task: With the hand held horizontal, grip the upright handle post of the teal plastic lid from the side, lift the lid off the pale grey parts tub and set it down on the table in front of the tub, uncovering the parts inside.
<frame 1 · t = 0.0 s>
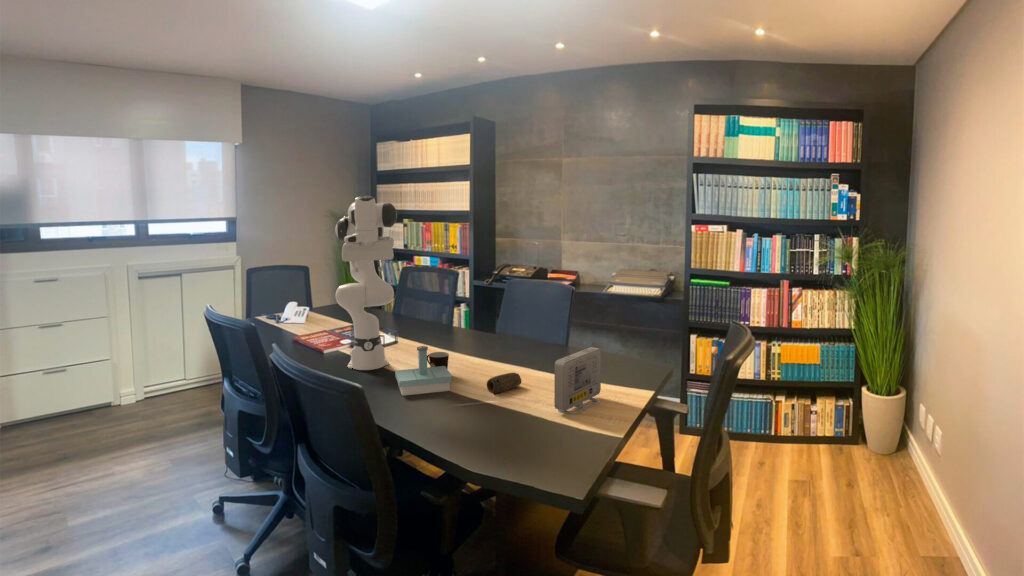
hand: (368, 271, 245), 48 cm above the table, tool pointing down, fingers open, 8 cm apart
lid: (423, 375, 247), point 6 cm above the table, touching tub
tub: (423, 389, 248), on the table
network device: (578, 406, 228), on the table
walnut block: (410, 387, 249), point 1 cm above the table, touching tub
hollow wooden cylinder: (504, 390, 247), on the table
coffee mug: (438, 376, 266), on the table
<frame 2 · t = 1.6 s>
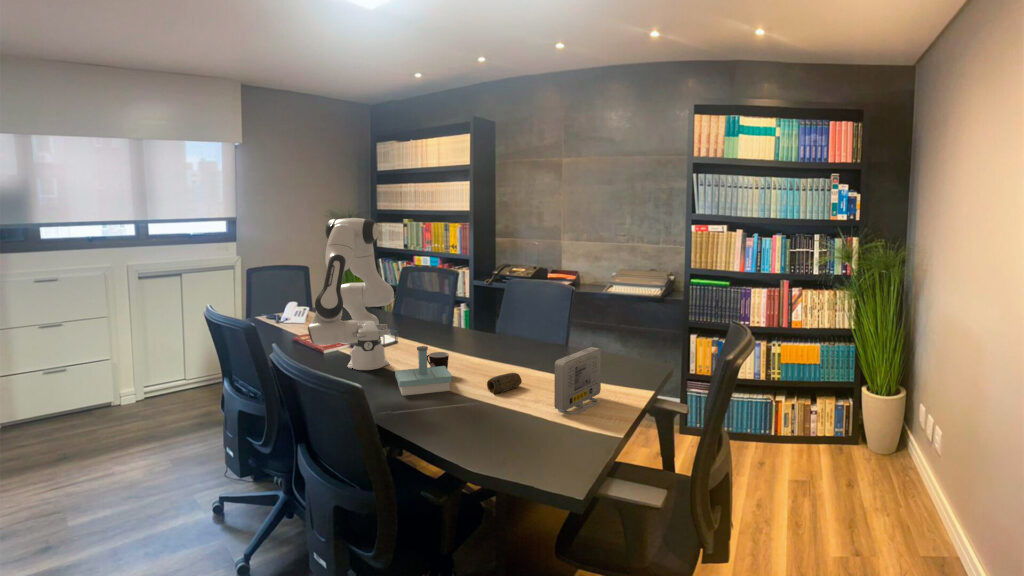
hand: (388, 329, 240), 26 cm above the table, tool horizontal, fingers open, 8 cm apart
nothing on the table moved.
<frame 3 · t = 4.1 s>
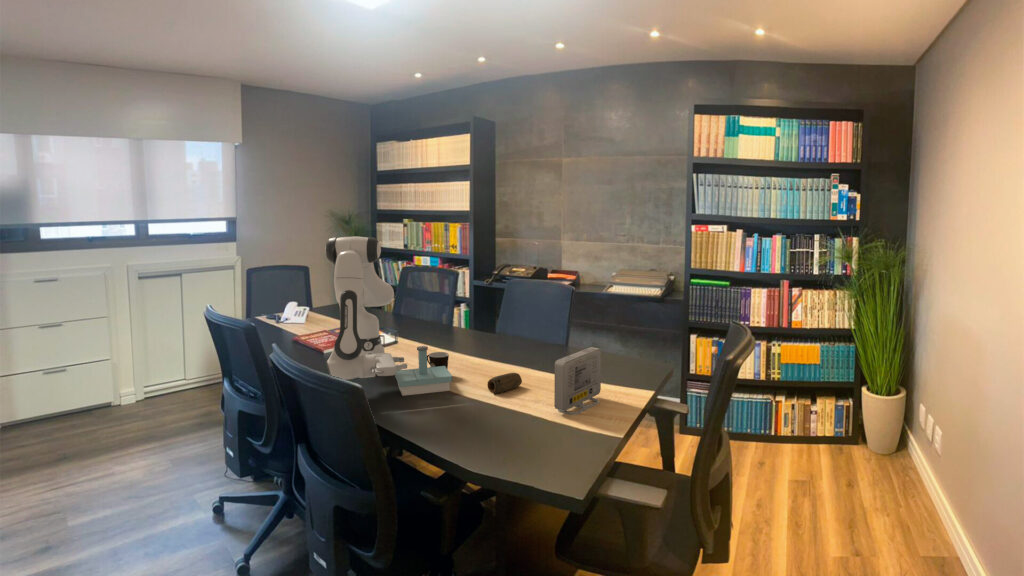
hand: (405, 362, 244), 12 cm above the table, tool horizontal, fingers open, 8 cm apart
nothing on the table moved.
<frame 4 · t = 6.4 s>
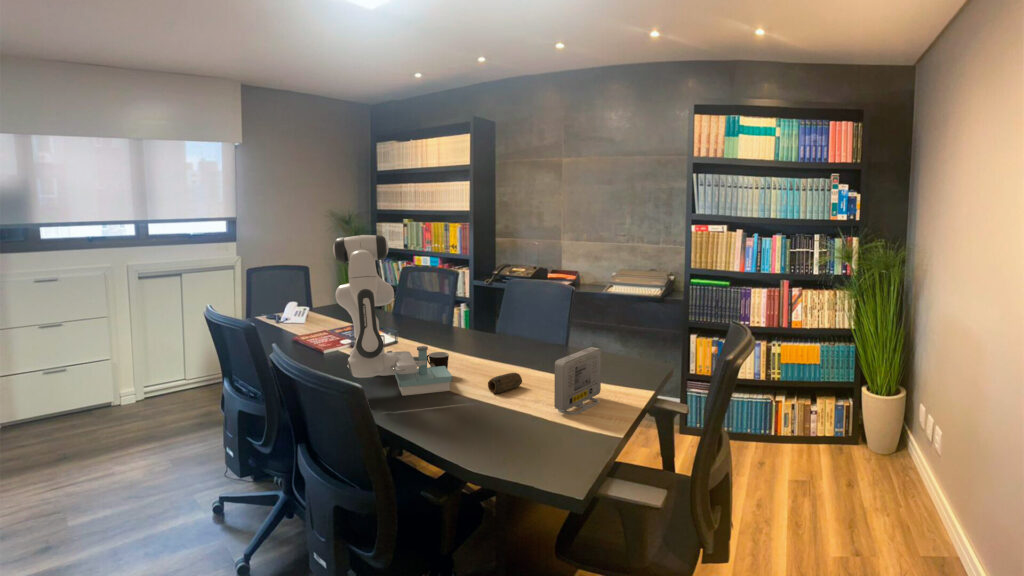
hand: (425, 360, 247), 12 cm above the table, tool horizontal, fingers closed on lid, 3 cm apart
lid: (423, 375, 247), point 6 cm above the table, touching gripper, tub
everything else where it was.
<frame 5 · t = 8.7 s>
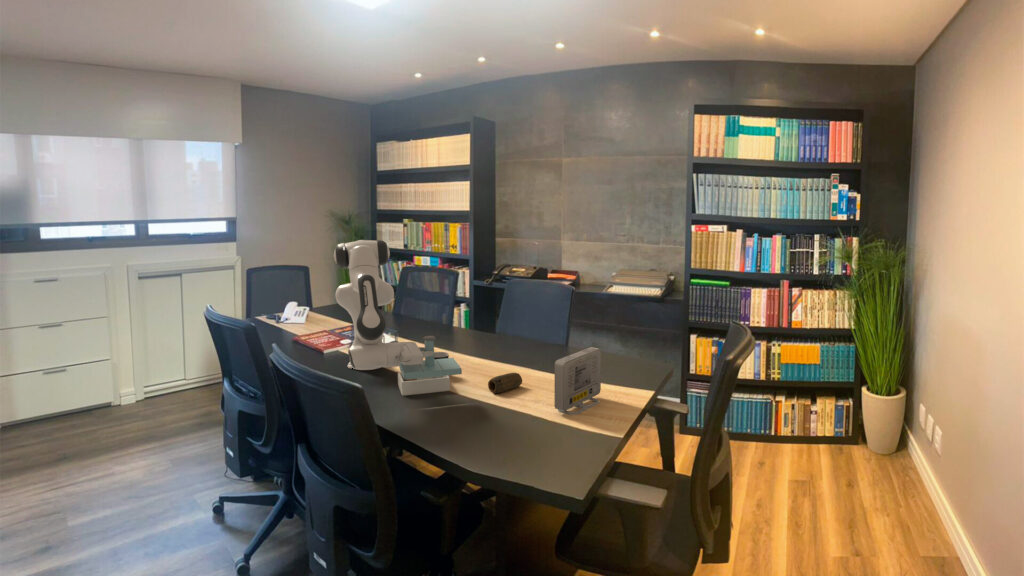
hand: (431, 351, 228), 20 cm above the table, tool horizontal, fingers closed on lid, 3 cm apart
lid: (429, 367, 229), point 14 cm above the table, touching gripper
everything else where it was.
when the fingers open (9 cm above the table, at t = 11.1 s): lid drops 1 cm, point 1 cm above the table.
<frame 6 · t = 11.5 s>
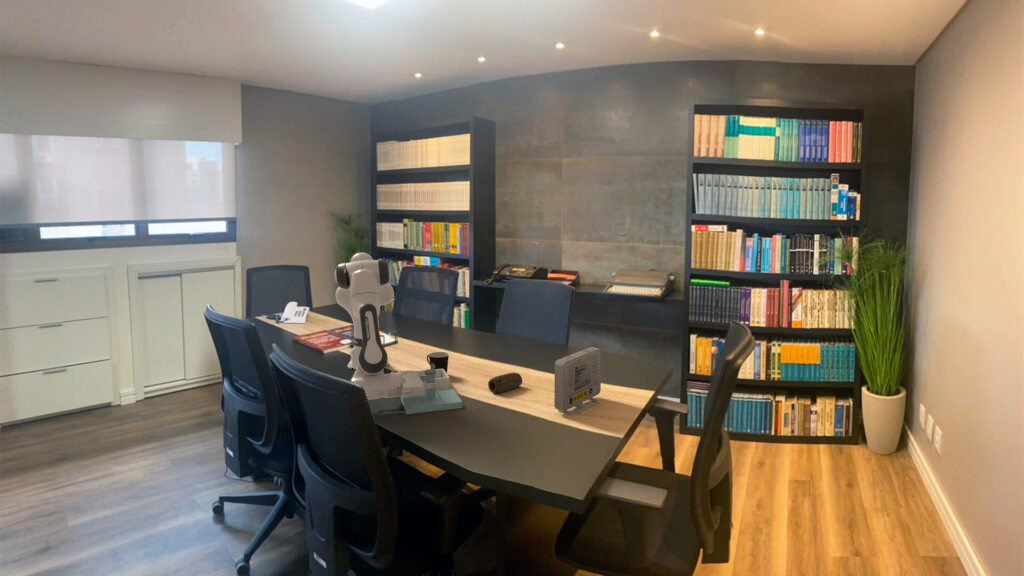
hand: (432, 381, 230), 9 cm above the table, tool horizontal, fingers open, 7 cm apart
lid: (431, 400, 231), point 1 cm above the table
everything else where it was.
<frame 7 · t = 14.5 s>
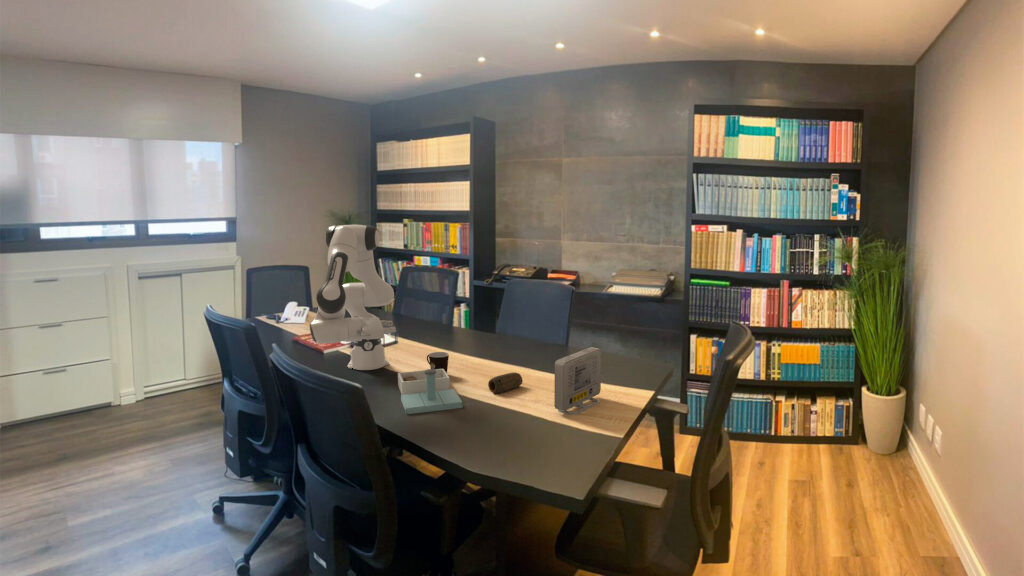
hand: (394, 326, 229), 30 cm above the table, tool horizontal, fingers open, 8 cm apart
nothing on the table moved.
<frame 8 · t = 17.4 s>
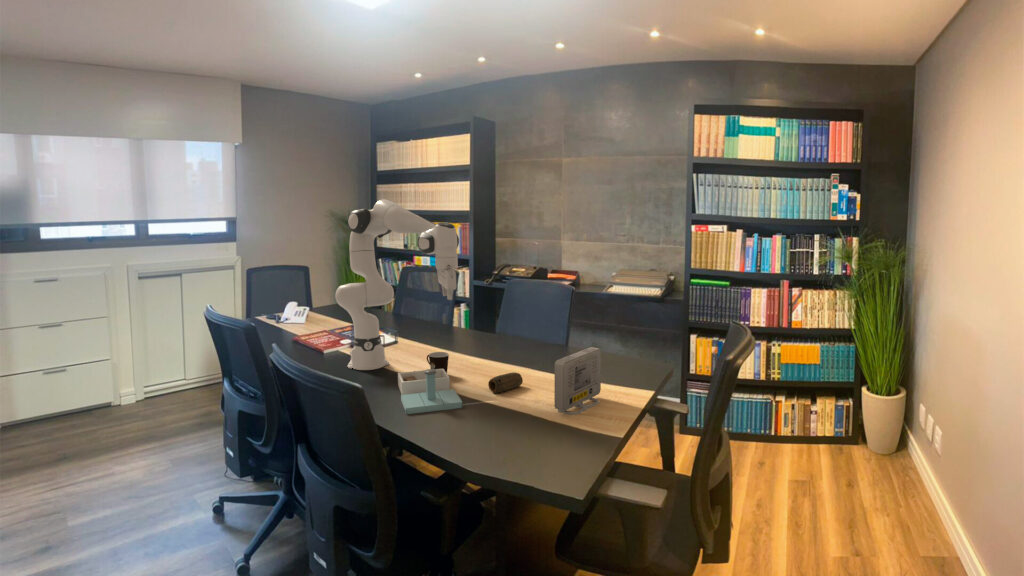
hand: (447, 297, 247), 37 cm above the table, tool pointing down, fingers open, 8 cm apart
nothing on the table moved.
at the end: lid inside the target area (0.0 cm from its centre), point 1.5 cm above the table; lid touching table; lid tilted 0° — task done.
